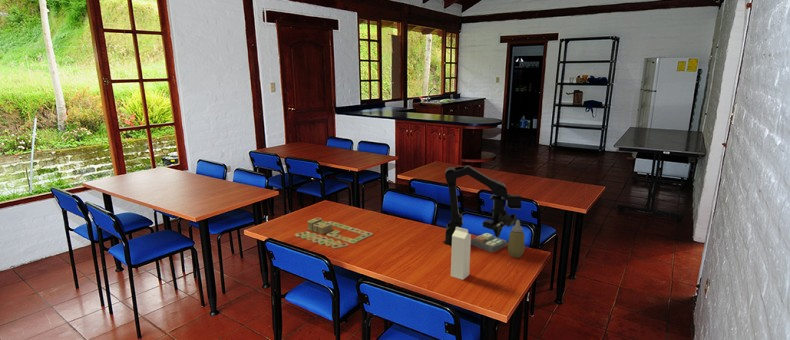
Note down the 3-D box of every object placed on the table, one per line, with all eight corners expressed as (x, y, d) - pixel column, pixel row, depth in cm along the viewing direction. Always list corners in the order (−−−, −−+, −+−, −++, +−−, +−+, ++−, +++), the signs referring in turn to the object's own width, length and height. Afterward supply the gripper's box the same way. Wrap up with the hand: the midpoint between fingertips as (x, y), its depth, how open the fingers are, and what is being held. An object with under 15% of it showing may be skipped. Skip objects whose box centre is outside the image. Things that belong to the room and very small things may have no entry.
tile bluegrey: (497, 246, 212) (497, 242, 212) (491, 243, 215) (491, 240, 214) (502, 244, 215) (502, 240, 214) (495, 241, 218) (496, 238, 217)
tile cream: (491, 249, 209) (491, 245, 208) (484, 246, 212) (485, 242, 211) (496, 246, 211) (496, 243, 211) (489, 244, 214) (489, 240, 214)
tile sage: (487, 240, 216) (488, 236, 216) (481, 237, 219) (481, 234, 219) (492, 238, 219) (492, 234, 218) (486, 236, 222) (486, 232, 221)
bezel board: (492, 252, 207) (492, 247, 206) (470, 244, 216) (470, 239, 216) (506, 245, 215) (507, 241, 214) (485, 238, 224) (485, 233, 224)
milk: (457, 271, 188) (458, 224, 183) (469, 275, 185) (471, 227, 180) (450, 276, 183) (452, 228, 178) (462, 280, 180) (464, 231, 175)
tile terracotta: (481, 242, 213) (481, 239, 212) (475, 240, 216) (475, 236, 215) (486, 240, 215) (486, 237, 215) (480, 238, 218) (480, 234, 218)
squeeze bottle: (515, 260, 199) (517, 224, 194) (503, 253, 206) (505, 218, 201) (527, 256, 202) (530, 221, 198) (515, 250, 209) (518, 216, 205)
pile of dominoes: (292, 236, 228) (291, 227, 227) (327, 222, 249) (327, 213, 248) (339, 252, 208) (339, 242, 207) (373, 235, 230) (373, 225, 228)
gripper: (501, 216, 198) (499, 247, 202) (523, 207, 210) (521, 237, 214) (482, 210, 206) (481, 240, 210) (504, 202, 218) (503, 230, 222)
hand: (497, 237), depth 214 cm, fingers closed
